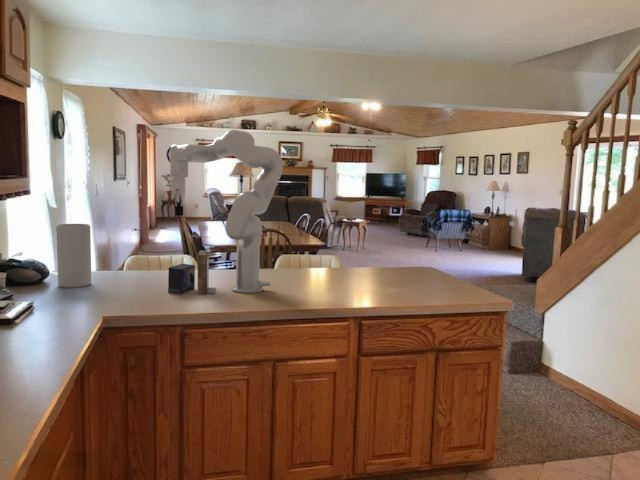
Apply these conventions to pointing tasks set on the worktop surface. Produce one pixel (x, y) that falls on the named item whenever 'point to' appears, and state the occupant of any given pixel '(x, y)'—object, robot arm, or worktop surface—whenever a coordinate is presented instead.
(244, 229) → the robot arm
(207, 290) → the metal bookend
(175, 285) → the small box
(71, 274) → the cylinder vase
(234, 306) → the worktop surface
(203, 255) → the walnut block
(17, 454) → the worktop surface
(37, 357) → the worktop surface
